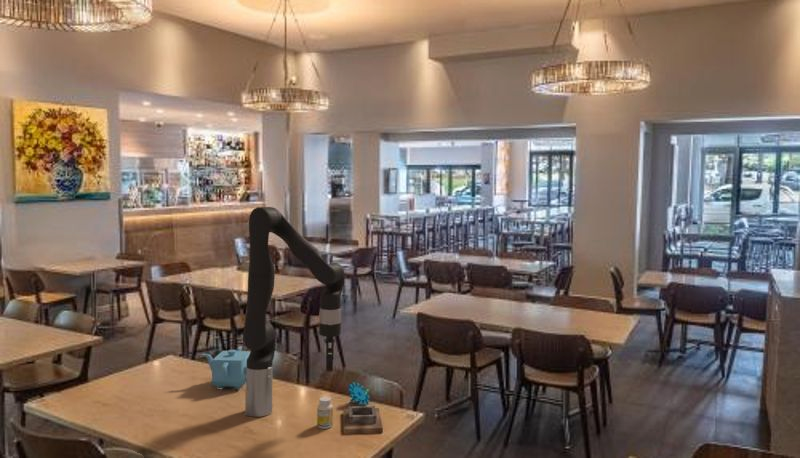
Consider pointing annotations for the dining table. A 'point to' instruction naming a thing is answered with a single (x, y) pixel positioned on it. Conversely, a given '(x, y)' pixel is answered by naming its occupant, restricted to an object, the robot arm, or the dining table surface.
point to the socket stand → (362, 420)
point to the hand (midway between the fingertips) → (329, 367)
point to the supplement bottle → (325, 413)
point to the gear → (358, 394)
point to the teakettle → (229, 368)
